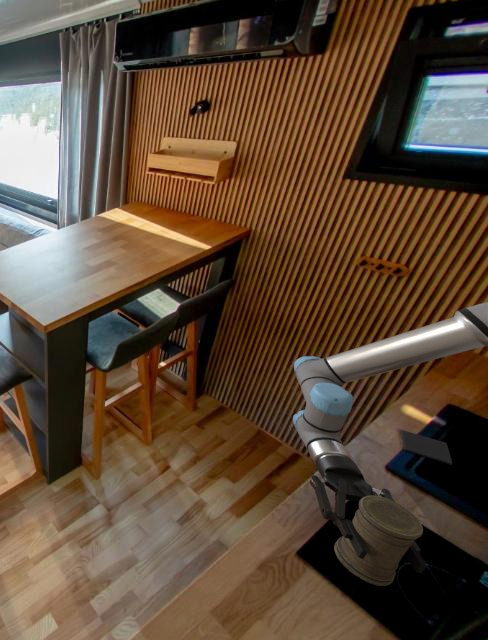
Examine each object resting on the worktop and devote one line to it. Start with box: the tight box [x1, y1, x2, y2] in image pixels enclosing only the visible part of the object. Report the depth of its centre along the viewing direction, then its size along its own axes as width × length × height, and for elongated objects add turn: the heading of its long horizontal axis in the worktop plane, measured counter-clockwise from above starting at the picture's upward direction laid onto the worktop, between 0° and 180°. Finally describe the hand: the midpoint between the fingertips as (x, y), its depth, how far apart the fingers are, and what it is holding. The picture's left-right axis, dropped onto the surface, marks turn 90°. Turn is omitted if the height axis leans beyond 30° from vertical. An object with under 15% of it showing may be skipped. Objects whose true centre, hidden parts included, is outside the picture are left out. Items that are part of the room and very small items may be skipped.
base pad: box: [400, 429, 453, 466], centre depth 99 cm, size 8×8×1 cm
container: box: [333, 495, 424, 587], centre depth 76 cm, size 9×9×18 cm
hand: (391, 561), depth 72 cm, fingers closed on container, 8 cm apart
